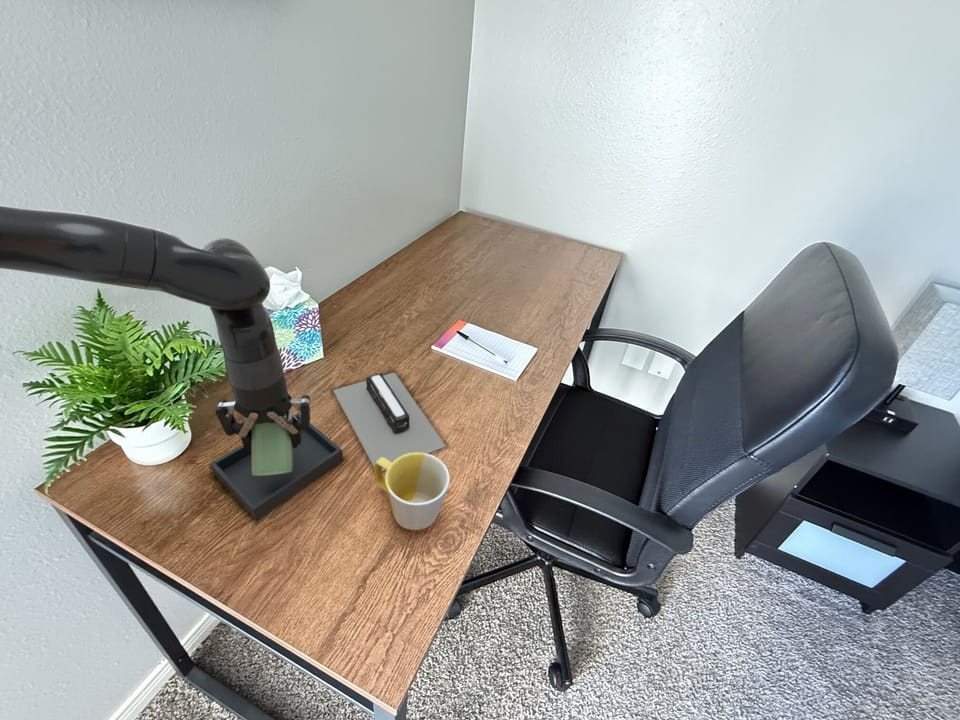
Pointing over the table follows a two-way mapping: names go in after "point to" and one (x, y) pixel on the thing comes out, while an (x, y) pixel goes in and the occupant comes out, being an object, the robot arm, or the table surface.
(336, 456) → the tray
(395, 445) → the grey flat rectangular panel
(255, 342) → the robot arm
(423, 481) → the mug
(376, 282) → the table surface
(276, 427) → the tumbler
